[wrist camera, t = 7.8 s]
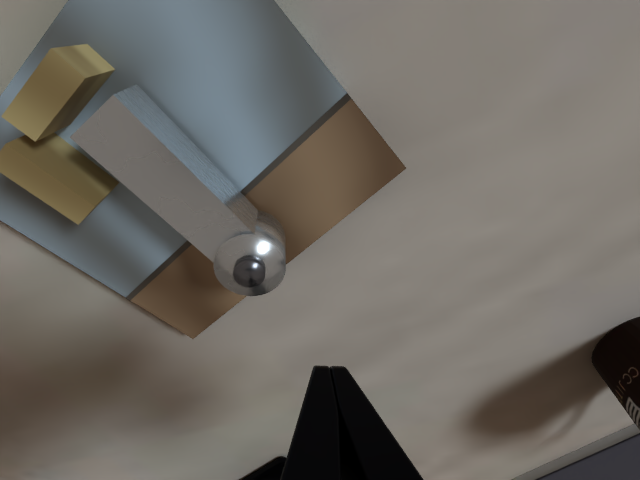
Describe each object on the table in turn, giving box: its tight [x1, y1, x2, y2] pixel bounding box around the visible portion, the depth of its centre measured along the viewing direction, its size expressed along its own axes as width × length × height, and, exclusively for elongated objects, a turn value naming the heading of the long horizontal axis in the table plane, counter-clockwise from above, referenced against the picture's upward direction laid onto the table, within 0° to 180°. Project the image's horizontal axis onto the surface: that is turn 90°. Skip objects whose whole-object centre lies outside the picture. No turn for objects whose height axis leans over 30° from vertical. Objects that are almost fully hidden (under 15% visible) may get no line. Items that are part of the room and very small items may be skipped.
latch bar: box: [70, 84, 286, 296], centre depth 16 cm, size 10×3×3 cm, turn 37°
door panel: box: [0, 0, 406, 339], centre depth 16 cm, size 16×14×4 cm
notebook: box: [512, 424, 640, 480], centre depth 38 cm, size 13×2×21 cm
